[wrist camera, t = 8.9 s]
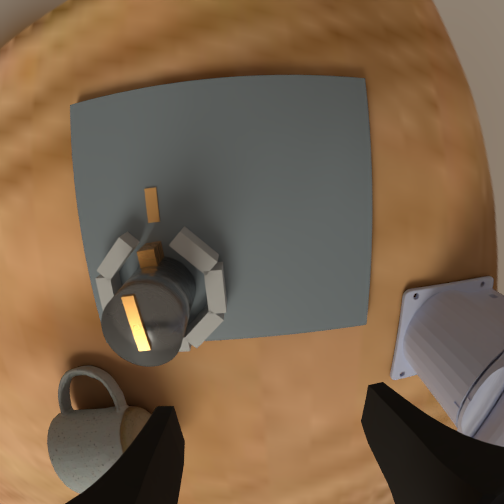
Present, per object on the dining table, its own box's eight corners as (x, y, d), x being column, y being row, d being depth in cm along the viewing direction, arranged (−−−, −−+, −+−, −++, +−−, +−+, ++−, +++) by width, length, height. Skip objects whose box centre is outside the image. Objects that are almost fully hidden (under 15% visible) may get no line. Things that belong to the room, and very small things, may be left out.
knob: (201, 312, 20) (191, 365, 14) (142, 319, 20) (115, 371, 14) (185, 236, 18) (164, 267, 13) (122, 247, 18) (82, 281, 13)
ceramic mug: (181, 443, 24) (170, 511, 17) (109, 450, 24) (88, 508, 17) (120, 350, 21) (82, 418, 14) (47, 367, 22) (5, 422, 14)
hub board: (360, 81, 17) (374, 72, 15) (362, 319, 21) (374, 335, 19) (75, 106, 16) (58, 101, 14) (110, 337, 21) (99, 354, 18)
